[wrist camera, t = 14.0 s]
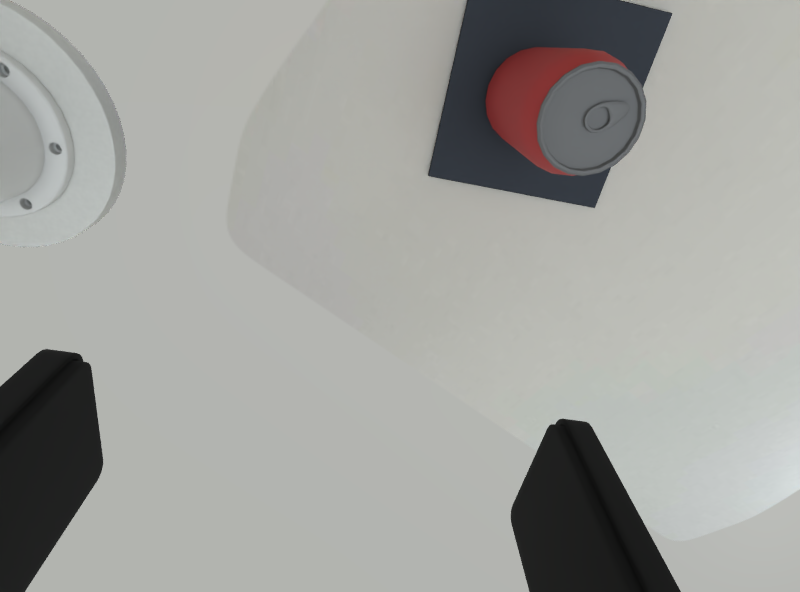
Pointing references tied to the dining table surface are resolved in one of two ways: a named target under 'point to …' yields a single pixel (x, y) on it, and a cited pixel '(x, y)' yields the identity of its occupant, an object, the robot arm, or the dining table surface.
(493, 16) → the mat
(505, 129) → the beer can
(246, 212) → the dining table surface
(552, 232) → the dining table surface
